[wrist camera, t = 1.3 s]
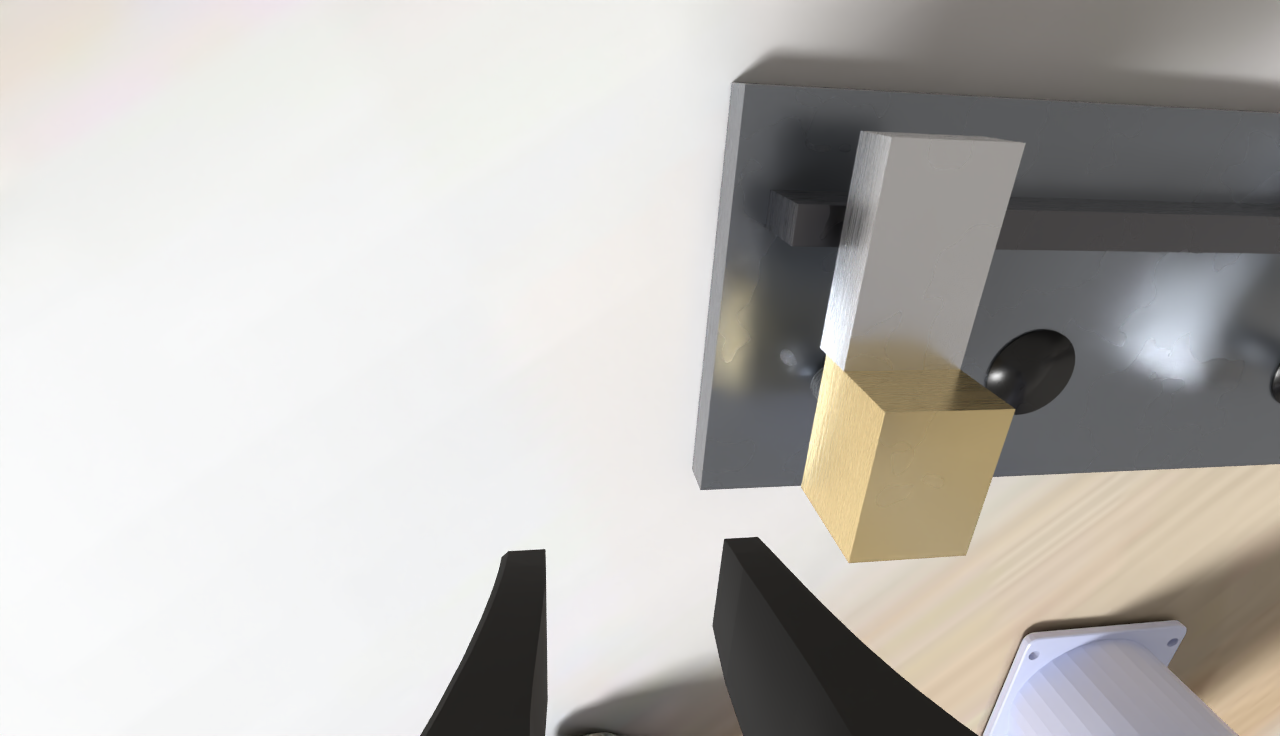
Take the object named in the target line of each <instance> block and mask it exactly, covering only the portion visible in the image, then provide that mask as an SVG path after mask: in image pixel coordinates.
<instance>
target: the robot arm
mask: <svg viewBox="0 0 1280 736" xmlns="http://www.w3.org/2000/svg"><path fill="white" fill-rule="evenodd" d="M713 630H714V635H715V639H716V644H717V649H718V653H719V658H720V662H721V666H722V671H723V675H724V679H725V683H726V686H727V689H728V692H729V695H730V698H731V701H732V704H733V707H734V710H735V713H736V716H737V719H738V722H739V725H740V728H741V730H742V733H743V736H978V735H977V734H975V733H974V732H973V731H971V730H970V729H968V728H967V727H966V726H964V725H963V724H962V723H960V722H959V721H957V720H956V719H955V718H954V717H952V716H951V715H950V714H948V713H947V712H946V711H944V710H943V709H942V708H941V707H939V706H938V705H937V704H935V703H934V702H933V701H932V700H930V699H929V698H928V697H926V696H925V695H924V694H922V693H921V692H920V691H919V690H917V689H916V688H915V687H914V686H912V685H911V684H910V683H909V682H908V681H906V680H905V679H904V678H903V677H901V676H900V675H899V674H898V673H897V672H896V671H894V670H893V669H892V668H891V667H890V666H889V665H888V664H886V663H885V662H884V661H883V660H882V659H881V658H880V657H878V656H877V655H876V654H875V653H874V652H873V651H872V650H870V649H869V648H868V647H867V646H866V645H865V644H864V643H863V642H862V641H861V640H859V639H858V638H857V637H856V636H855V635H854V634H853V633H852V632H851V631H850V630H849V629H848V628H847V627H846V626H845V625H844V624H843V623H842V622H841V621H840V620H839V619H838V618H836V617H835V616H834V615H833V614H832V613H831V612H830V611H829V610H828V609H827V608H826V607H825V606H824V605H823V604H822V603H821V602H820V601H819V600H818V599H817V598H816V597H815V596H814V595H813V594H812V593H811V592H810V591H809V590H808V589H807V588H806V587H805V586H804V585H803V583H802V582H801V581H800V580H799V579H798V578H797V577H796V576H795V575H794V574H793V573H792V572H791V571H790V570H789V569H788V568H787V567H786V566H785V565H784V564H783V563H782V562H781V561H780V559H779V558H778V557H777V556H776V555H775V554H774V553H773V552H772V551H771V550H770V549H769V548H768V547H767V546H766V545H765V544H764V543H763V542H762V541H761V540H760V539H759V538H758V537H750V538H732V539H724V545H723V552H722V559H721V567H720V574H719V582H718V589H717V596H716V604H715V611H714V619H713ZM1186 631H1187V629H1186V627H1185V626H1184V625H1183V624H1182V623H1181V622H1179V621H1178V620H1169V621H1158V622H1146V623H1135V624H1123V625H1112V626H1100V627H1089V628H1078V629H1066V630H1055V631H1043V632H1033V633H1030V634H1028V635H1027V636H1025V637H1024V639H1023V640H1022V642H1021V645H1020V647H1019V649H1018V652H1017V654H1016V657H1015V659H1014V661H1013V664H1012V666H1011V669H1010V671H1009V673H1008V676H1007V678H1006V681H1005V683H1004V685H1003V688H1002V690H1001V693H1000V695H999V697H998V700H997V702H996V705H995V707H994V709H993V712H992V714H991V717H990V719H989V721H988V724H987V726H986V729H985V731H984V733H983V736H1239V735H1238V734H1236V733H1235V732H1234V731H1233V730H1232V729H1231V728H1230V727H1229V726H1228V725H1227V724H1226V723H1225V722H1224V721H1223V720H1222V719H1221V718H1220V717H1219V716H1218V715H1217V714H1216V713H1214V712H1213V711H1212V710H1211V709H1210V708H1209V707H1208V706H1207V705H1206V704H1205V703H1204V702H1203V701H1202V700H1201V699H1200V698H1199V697H1198V696H1197V695H1196V694H1195V693H1193V692H1192V691H1191V690H1190V689H1189V688H1188V687H1187V686H1186V685H1185V684H1184V683H1183V682H1182V681H1181V680H1180V679H1179V678H1178V677H1177V676H1176V675H1175V674H1174V673H1173V672H1171V671H1170V670H1169V669H1168V668H1167V666H1168V664H1169V663H1170V661H1171V659H1172V657H1173V655H1174V654H1175V652H1176V650H1177V648H1178V647H1179V645H1180V643H1181V641H1182V639H1183V638H1184V636H1185V634H1186ZM547 701H548V695H547V620H546V557H545V549H541V550H523V551H508V552H507V553H506V554H505V555H504V556H503V557H502V558H501V563H500V567H499V571H498V574H497V578H496V581H495V584H494V587H493V590H492V592H491V595H490V598H489V600H488V603H487V605H486V608H485V610H484V613H483V615H482V618H481V620H480V622H479V624H478V626H477V629H476V631H475V633H474V635H473V637H472V639H471V642H470V644H469V646H468V648H467V650H466V653H465V655H464V657H463V659H462V661H461V663H460V665H459V667H458V669H457V670H456V672H455V674H454V676H453V678H452V680H451V682H450V683H449V685H448V687H447V689H446V691H445V693H444V695H443V697H442V698H441V700H440V702H439V704H438V706H437V708H436V710H435V711H434V713H433V715H432V717H431V718H430V720H429V722H428V723H427V725H426V727H425V728H424V730H423V732H422V734H421V735H420V736H545V729H546V715H547Z"/></svg>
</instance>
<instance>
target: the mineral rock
mask: <svg viewBox="0 0 1280 736" xmlns="http://www.w3.org/2000/svg"><path fill="white" fill-rule="evenodd" d="M585 736H618V735H614V734H611V733H606V732H602V733H595V734H590V735H585Z"/></svg>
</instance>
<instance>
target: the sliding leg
mask: <svg viewBox="0 0 1280 736" xmlns="http://www.w3.org/2000/svg"><path fill="white" fill-rule="evenodd" d="M1025 144H1026V143H1022V142H1016V141H1009V140H1003V139H997V138H990V137H984V136H963V135H941V134H919V133H897V132H875V131H860V135H859V140H858V146H857V151H856V156H855V162H854V167H853V173H852V178H851V183H850V189H849V194H848V200H847V205H846V210H845V216H844V221H843V227H842V232H841V237H840V243H839V248H838V254H837V259H836V265H835V270H834V275H833V281H832V286H831V292H830V297H829V302H828V308H827V313H826V319H825V324H824V329H823V335H822V340H821V346H820V348H821V349H822V350H823V351H824V352H825V353H826V359H825V365H824V367H822V368H820V369H819V370H818V371H817V372H816V373H815V374H814V376H813V377H812V380H811V383H810V388H811V392H812V394H813V395H814V396H815V397H816V399H817V400H818V401H817V407H816V412H815V417H814V422H813V428H812V433H811V438H810V443H809V449H808V454H807V459H806V464H805V470H804V475H803V480H802V485H801V488H802V489H803V491H804V493H805V494H806V496H807V497H808V499H809V501H810V502H811V504H812V505H813V507H814V508H815V510H816V512H817V513H818V515H819V516H820V518H821V520H822V521H823V523H824V524H825V526H826V528H827V529H828V531H829V532H830V534H831V536H832V537H833V539H834V540H835V542H836V544H837V545H838V547H839V548H840V550H841V551H842V553H843V555H844V556H845V558H846V559H847V561H848V563H858V562H873V561H888V560H904V559H919V558H934V557H950V556H965V555H966V554H967V551H968V548H969V545H970V542H971V539H972V536H973V533H974V530H975V527H976V524H977V521H978V518H979V515H980V512H981V509H982V507H983V504H984V501H985V498H986V495H987V492H988V489H989V486H990V483H991V480H992V477H993V474H994V471H995V468H996V465H997V462H998V459H999V456H1000V454H1001V451H1002V448H1003V445H1004V442H1005V439H1006V436H1007V433H1008V430H1009V427H1010V424H1011V421H1012V418H1013V415H1014V412H1015V408H1013V407H1012V406H1010V405H1009V404H1008V403H1006V402H1005V401H1003V400H1002V399H1001V398H999V397H998V396H997V395H995V394H994V393H992V392H991V391H990V390H988V389H987V388H985V387H984V386H983V385H981V384H980V383H978V382H977V381H976V380H974V379H973V378H971V377H970V376H969V375H967V374H966V373H964V372H963V371H962V370H960V368H961V365H962V361H963V358H964V354H965V351H966V348H967V344H968V341H969V337H970V334H971V330H972V327H973V323H974V320H975V316H976V313H977V310H978V306H979V303H980V299H981V296H982V292H983V289H984V285H985V282H986V278H987V275H988V272H989V268H990V265H991V261H992V258H993V254H994V251H995V247H996V244H997V240H998V237H999V234H1000V230H1001V227H1002V223H1003V220H1004V216H1005V213H1006V209H1007V206H1008V203H1009V199H1010V196H1011V192H1012V189H1013V185H1014V182H1015V178H1016V175H1017V171H1018V168H1019V165H1020V161H1021V158H1022V154H1023V151H1024V147H1025Z"/></svg>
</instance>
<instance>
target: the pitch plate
mask: <svg viewBox="0 0 1280 736" xmlns="http://www.w3.org/2000/svg"><path fill="white" fill-rule="evenodd" d="M860 131H875V132H897V133H919V134H941V135H963V136H984V137H990V138H997V139H1003V140H1009V141H1016V142H1022V143H1026V144H1025V147H1024V151H1023V154H1022V158H1021V161H1020V165H1019V168H1018V171H1017V175H1016V178H1015V182H1014V185H1013V189H1012V192H1011V196H1010V199H1009V203H1008V206H1007V209H1006V213H1005V216H1004V220H1003V223H1002V227H1001V230H1000V234H999V237H998V240H997V244H996V247H995V251H994V254H993V258H992V261H991V265H990V268H989V272H988V275H987V278H986V282H985V285H984V289H983V292H982V296H981V299H980V303H979V306H978V310H977V313H976V316H975V320H974V323H973V327H972V330H971V334H970V337H969V341H968V344H967V348H966V351H965V354H964V358H963V361H962V365H961V368H960V370H962V371H963V372H964V373H966V374H967V375H969V376H970V377H971V378H973V379H974V380H976V381H977V382H978V383H980V384H981V385H983V386H984V387H985V388H987V389H988V390H990V391H991V392H992V393H994V394H995V395H997V396H998V397H999V398H1001V399H1002V400H1003V401H1005V402H1006V403H1008V404H1009V405H1010V406H1012V407H1013V408H1015V412H1014V415H1013V418H1012V421H1011V424H1010V427H1009V430H1008V433H1007V436H1006V439H1005V442H1004V445H1003V448H1002V451H1001V454H1000V456H999V459H998V462H997V465H996V468H995V471H994V474H993V477H1001V476H1023V475H1045V474H1068V473H1090V472H1112V471H1134V470H1157V469H1179V468H1201V467H1223V466H1246V465H1268V464H1280V113H1271V112H1253V111H1235V110H1217V109H1199V108H1181V107H1163V106H1145V105H1127V104H1109V103H1091V102H1073V101H1055V100H1037V99H1019V98H1001V97H983V96H965V95H948V94H930V93H912V92H894V91H876V90H858V89H840V88H822V87H804V86H786V85H768V84H750V83H732V86H731V96H730V106H729V116H728V126H727V135H726V145H725V155H724V165H723V174H722V184H721V194H720V204H719V213H718V223H717V233H716V243H715V252H714V262H713V272H712V282H711V291H710V301H709V311H708V321H707V330H706V340H705V350H704V360H703V369H702V379H701V389H700V399H699V409H698V418H697V428H696V438H695V448H694V457H693V467H692V470H693V472H694V475H695V477H696V480H697V482H698V485H699V488H700V490H712V489H734V488H756V487H779V486H801V485H802V480H803V475H804V470H805V464H806V459H807V454H808V449H809V443H810V438H811V433H812V428H813V422H814V417H815V412H816V407H817V401H818V400H817V399H816V397H815V396H814V395H813V394H812V392H811V388H810V383H811V380H812V377H813V376H814V374H815V373H816V372H817V371H818V370H819V369H820V368H822V367H824V365H825V359H826V353H825V352H824V351H823V350H822V349H821V348H820V346H821V340H822V335H823V329H824V324H825V319H826V313H827V308H828V302H829V297H830V292H831V286H832V281H833V275H834V270H835V265H836V259H837V254H838V248H839V243H840V237H841V232H842V227H843V221H844V216H845V210H846V205H847V200H848V194H849V189H850V183H851V178H852V173H853V167H854V162H855V156H856V151H857V146H858V140H859V135H860Z"/></svg>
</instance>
